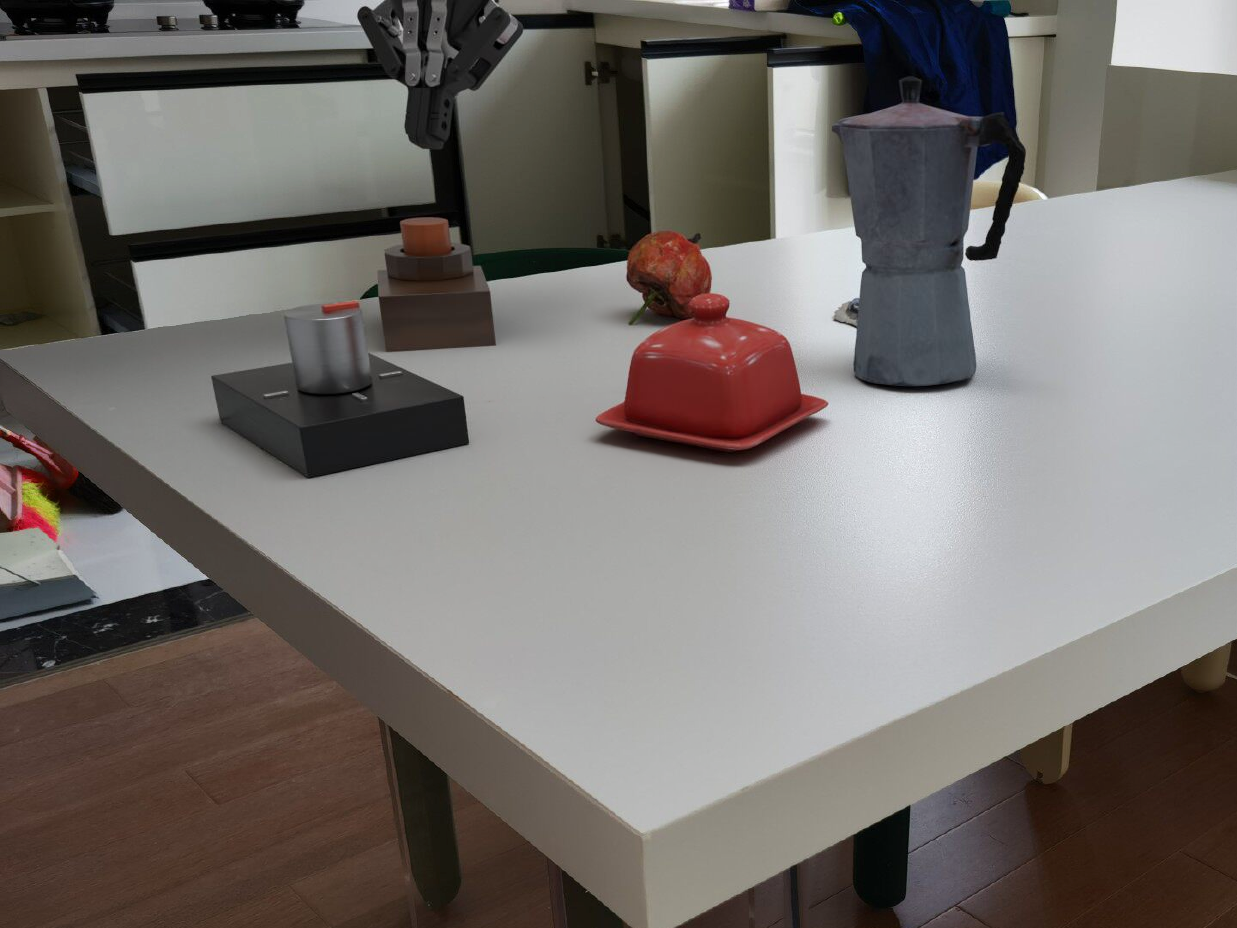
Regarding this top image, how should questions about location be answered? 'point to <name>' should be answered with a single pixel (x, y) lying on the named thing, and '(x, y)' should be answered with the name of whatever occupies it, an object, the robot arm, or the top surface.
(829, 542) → the top surface
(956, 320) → the moka pot
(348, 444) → the panel
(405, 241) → the button
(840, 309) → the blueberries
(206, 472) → the top surface
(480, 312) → the control block
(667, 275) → the pomegranate
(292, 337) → the hob knob
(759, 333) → the butter dish
